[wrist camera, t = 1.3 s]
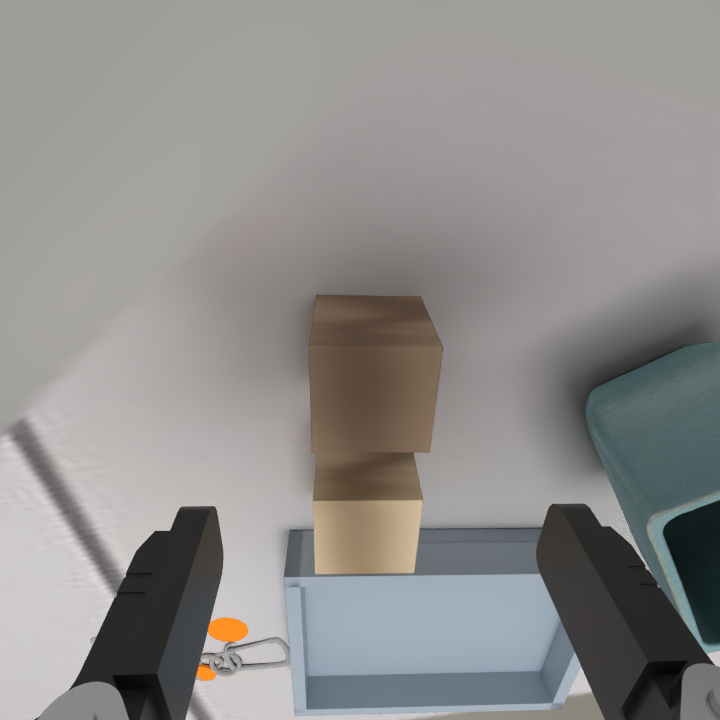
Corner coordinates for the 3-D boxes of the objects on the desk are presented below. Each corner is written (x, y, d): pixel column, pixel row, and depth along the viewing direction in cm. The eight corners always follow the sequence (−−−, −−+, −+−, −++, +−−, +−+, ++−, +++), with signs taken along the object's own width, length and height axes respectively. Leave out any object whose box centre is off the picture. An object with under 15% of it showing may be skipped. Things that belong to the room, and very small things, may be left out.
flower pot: (534, 377, 22) (645, 524, 14) (723, 286, 20) (977, 397, 12) (587, 492, 25) (698, 661, 17) (751, 425, 24) (958, 579, 16)
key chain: (273, 603, 30) (272, 616, 29) (298, 664, 33) (297, 677, 32) (87, 628, 30) (80, 642, 29) (130, 686, 34) (125, 699, 33)
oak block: (407, 426, 23) (423, 500, 18) (401, 492, 25) (413, 573, 21) (318, 426, 23) (312, 500, 18) (319, 493, 25) (315, 574, 20)
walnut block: (420, 296, 20) (442, 347, 15) (411, 385, 22) (429, 452, 17) (316, 294, 19) (308, 345, 15) (317, 384, 22) (311, 452, 17)
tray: (595, 528, 27) (623, 573, 24) (543, 662, 33) (561, 709, 31) (290, 530, 26) (284, 577, 23) (298, 667, 32) (294, 716, 30)
